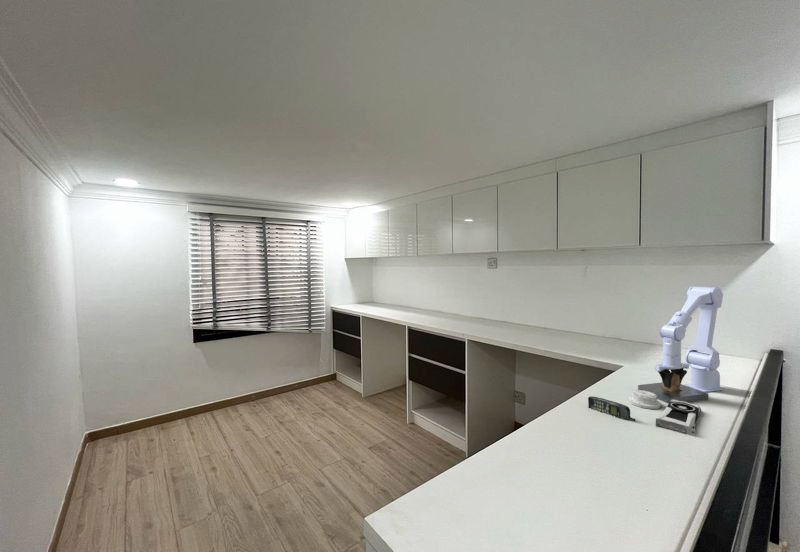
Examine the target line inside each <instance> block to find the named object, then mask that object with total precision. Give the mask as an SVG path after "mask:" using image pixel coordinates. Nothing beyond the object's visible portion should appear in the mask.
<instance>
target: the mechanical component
mask: <svg viewBox="0 0 800 552" xmlns="http://www.w3.org/2000/svg"><path fill="white" fill-rule="evenodd" d="M628 399H629V400H628V401H629V403H630V404H632V405H634V406H636V407H639V408H643V409H649V410H658V409H660V408H661V407H662V406H661V404H662V402H661V401H660V400H658V399H657V396H656V395H655V394H654V393H651V392H649V391H643V390H638V389H637V390H633V392H632V395H631V396H629V397H628Z"/></svg>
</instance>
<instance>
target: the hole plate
mask: <svg viewBox="0 0 800 552" xmlns="http://www.w3.org/2000/svg"><path fill="white" fill-rule="evenodd" d="M637 390H643V391H649V392H651V393H654V394H655V395H656V396H657V400H658V401H660V402H661V401H662V402H664V403H665V404H667V405H668V404H669V402H670V401H671V400H678V401H683V402H687V403H694V402H695V403H696V402H702V401H709V393H708V392H703V391H700V390H697V389H694V388H691V387H688V386H686V385H685V384H682V383H681V384H680V391H679V392H671V391H669V390H666V389H663V388H662V382H656V383H655V382H653V383H646V384H638V385H637Z"/></svg>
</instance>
